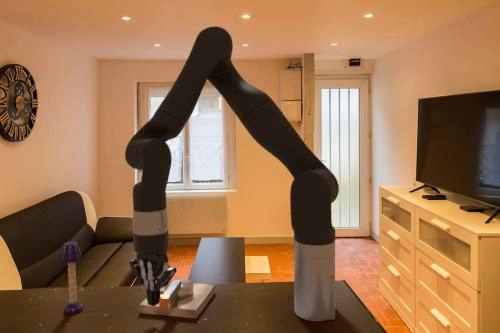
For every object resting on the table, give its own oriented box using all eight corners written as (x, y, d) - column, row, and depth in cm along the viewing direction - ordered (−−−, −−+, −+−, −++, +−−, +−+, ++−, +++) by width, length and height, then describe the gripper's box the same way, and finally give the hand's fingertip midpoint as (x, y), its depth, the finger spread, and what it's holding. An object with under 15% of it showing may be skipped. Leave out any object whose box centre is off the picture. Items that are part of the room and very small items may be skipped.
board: (215, 292, 99) (214, 283, 99) (196, 318, 86) (195, 308, 85) (165, 288, 102) (165, 279, 102) (139, 312, 89) (139, 303, 88)
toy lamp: (89, 307, 92) (85, 240, 90) (76, 316, 87) (71, 246, 86) (72, 305, 93) (68, 239, 91) (58, 314, 89) (53, 245, 87)
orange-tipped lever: (170, 286, 98) (169, 272, 97) (196, 287, 97) (196, 273, 96) (148, 314, 83) (147, 298, 83) (179, 315, 82) (179, 299, 82)
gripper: (116, 228, 84) (120, 303, 85) (159, 237, 77) (162, 319, 78) (143, 221, 90) (146, 291, 92) (185, 229, 83) (187, 304, 85)
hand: (153, 304), depth 85 cm, fingers closed
